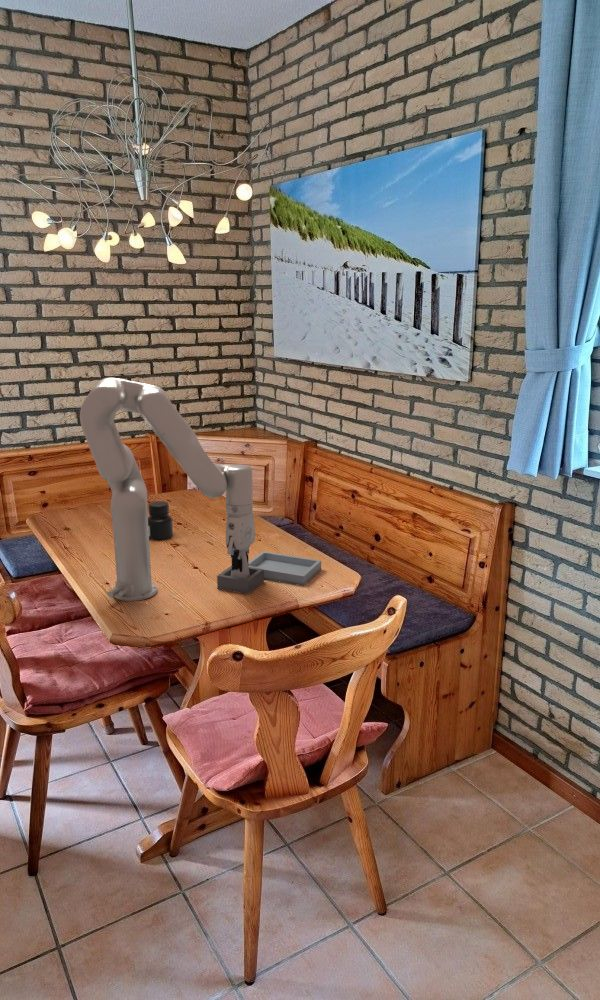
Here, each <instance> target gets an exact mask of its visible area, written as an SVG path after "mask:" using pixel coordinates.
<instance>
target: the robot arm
mask: <svg viewBox="0 0 600 1000" xmlns="http://www.w3.org/2000/svg"><path fill="white" fill-rule="evenodd" d="M81 404H82V405H81V406H80V412H79V419H80V420H79V421H80V426H81V429H82V432H83V434H84V437H85V440H86V442H87V444H88V445H87V446H88V448H89V451H90V453H91V456H92V458H93V461H94V462H95V465H96V468H97V471H98V474H99V475H100V477H101V478H102V479H104V481H106V482H107V483H108V486H109V488H110V491H111V493H112V494H111V495H112V496H111V499H110V513H111V521H112V530H113V531H112V532H113V533H112V534H113V546H114V558H115V559H114V561H115V572H116V573H115V574H116V575H115V576H116V581H115V582H114V583H115V585H114V587H113V588H112V589H110V590H109V591H107V596H108V598H109V599H111V598H114V599H116V600H120V601H125V602H126V601H127V602H135V601H136V602H137V601H142V600H143V601H144V600H146V599H149V598H151V597H153V596H155V595H156V594H157V592H158V586H157V584H156V583H154V582H153V581H152V569H151V568H152V567H151V566H152V565H151V552H150V551H151V549H150V548H151V547H150V539H149V530H148V517H149V505H148V489H147V485H146V483H145V480H144V479H143V476H142V473H141V470H140V468H139V466H138V463H137V461H136V458H135V456H134V453H133V451H132V450H131V449H130V447H129V446H127V445H126V444H125V443H123V440H122V438H121V435H120V433H119V430H118V427H117V425H116V423H115V415H116V413H118V412H119V411H123V412H124V411H125V412H130V413H134V414H135V413H137V414H139V415H140V416H141V418H142V419H143V420H144V422H145V423H146V424H147V425H148V427H149V428H150V429H151V430H152V431H153V432H154V434H155V435H156V437H157V438H158V439H159V440H160V442H161V443H162V444H163V445H164V446H165V448H166V449H167V451H168V452H169V453H170V455H171V456H172V458H174V459H175V460H176V462H177V464H178V465H179V466H180V467H181V468H182V470H183V471H184V472H185V474H186V476H187V477H188V478H189V480H191V482H192V483H193V484H194V485H195V486H196V488H197V489H198V491H200V493H201V494H203V495H204V496H205V497H207V498H209V499H217V498H220V497H221V496H223V495H224V494H225V511H226V513H225V514H226V523H225V524H226V525H225V546H226V548H227V551H226V554H227V555H229V556H230V558H231V566H232V571H233V570H238V569H239V570H240V572H242V559H241V551H242V550H244V549H245V548H247V547H248V549H247V551H246V557H247V562H249V554H250V547H251V545H252V544H254V543H255V542H256V527H255V526H256V525H255V516H254V511H253V510H254V508H253V504H254V503H253V502H254V501H253V496H254V494H253V469H252V468H251V466H249V465H247V464H239V463H238V464H231V465H226V464H225V465H224V464H219V463H214V462H213V461H212V460H211V458H210V457H209V455H208V454H207V453H206V451H205V449H204V448H203V447H202V445H201V442H200V441H199V439H198V436H197V435H196V433H195V432H194V430H193V428H192V427H191V426H190V425H189V423H188V422H187V420H185V418H184V417H183V416H182V415H181V413H180V412H179V411H178V410H177V408H176V406H175V405H174V404H173V403H172V402H171V400H170V399H169V398H168V395H167V392H166V391H165V390H164V389H163V388H161V387H159V386H157V385H153V384H150V383H149V384H148V383H142V382H138V381H133V380H128V379H122V378H116V377H105V378H102V379H101V380H99V381H98V382H97V383H96V384H95V386H94V387H93V389H92V390H91V391H90V392H89V393H88V394H87V395H86V397H85V399H83V402H82V403H81ZM234 546H235V547H236V548H234ZM234 550H235V551H238V554H237V552H234ZM248 566H249V565H248Z"/></svg>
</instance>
